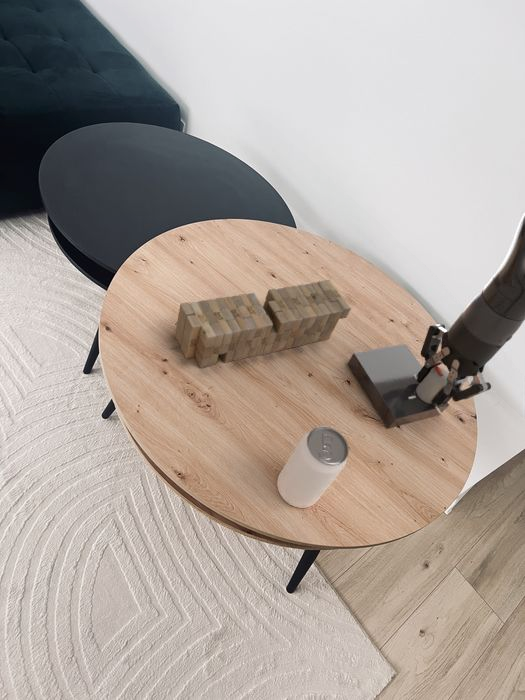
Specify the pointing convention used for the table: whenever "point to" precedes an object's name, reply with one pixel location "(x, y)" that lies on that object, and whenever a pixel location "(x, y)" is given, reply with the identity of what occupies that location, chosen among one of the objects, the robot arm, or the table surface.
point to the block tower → (259, 322)
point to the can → (312, 466)
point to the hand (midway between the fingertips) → (429, 391)
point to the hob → (393, 384)
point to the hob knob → (432, 384)
